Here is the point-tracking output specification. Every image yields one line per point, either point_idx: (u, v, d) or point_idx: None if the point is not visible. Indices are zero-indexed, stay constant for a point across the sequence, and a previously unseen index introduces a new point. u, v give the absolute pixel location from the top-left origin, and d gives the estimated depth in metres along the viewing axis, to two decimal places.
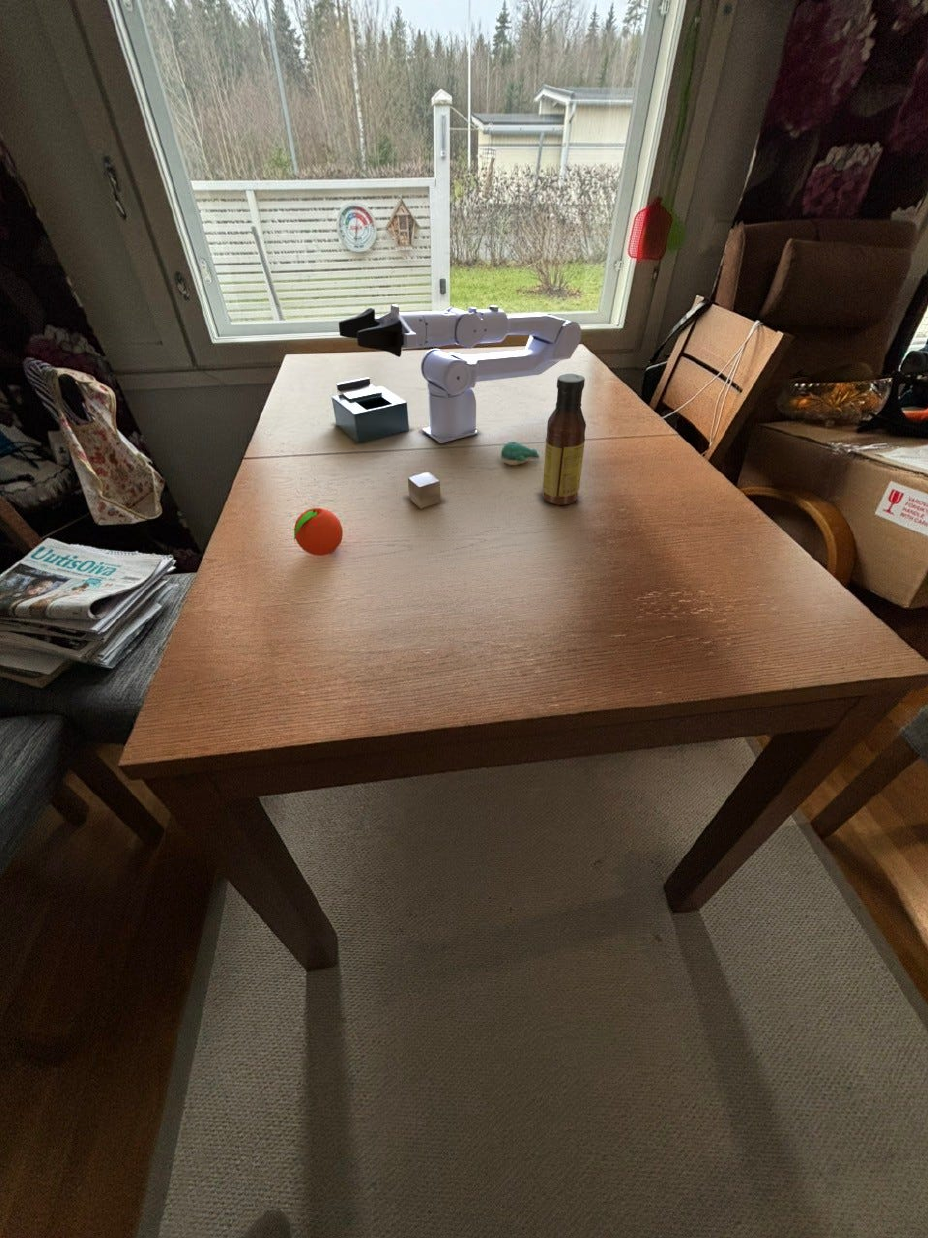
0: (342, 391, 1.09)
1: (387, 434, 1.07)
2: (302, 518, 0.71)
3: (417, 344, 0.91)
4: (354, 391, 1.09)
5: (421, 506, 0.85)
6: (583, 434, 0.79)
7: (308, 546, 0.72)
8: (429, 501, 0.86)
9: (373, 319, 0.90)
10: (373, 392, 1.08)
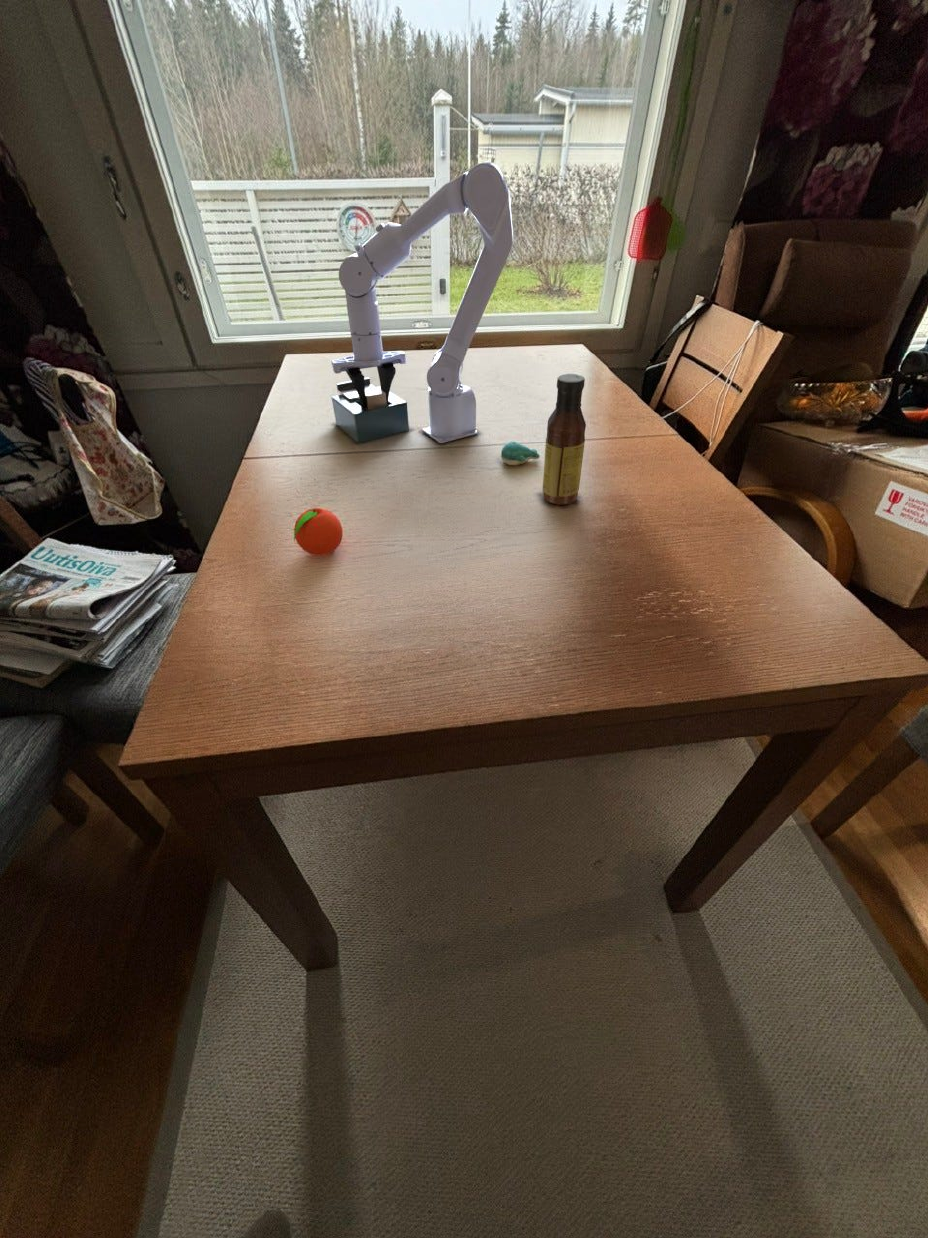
0: (342, 391, 1.09)
1: (387, 434, 1.07)
2: (302, 518, 0.71)
3: None
4: (354, 391, 1.09)
5: None
6: (583, 434, 0.79)
7: (308, 546, 0.72)
8: None
9: None
10: None
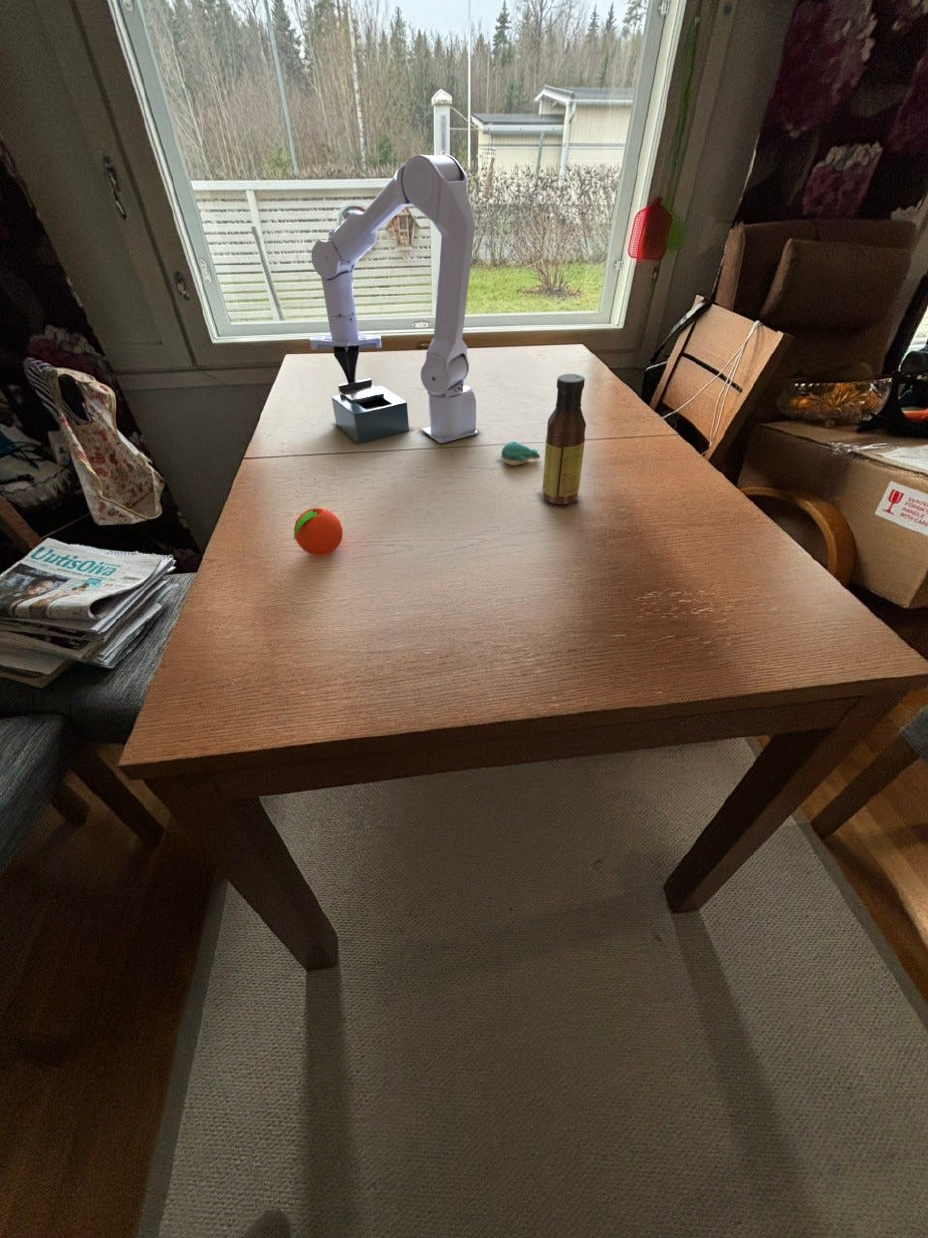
0: (344, 392, 1.08)
1: (387, 434, 1.07)
2: (302, 518, 0.71)
3: None
4: (356, 392, 1.08)
5: None
6: (583, 434, 0.79)
7: (308, 546, 0.72)
8: None
9: (345, 353, 1.06)
10: (375, 394, 1.07)
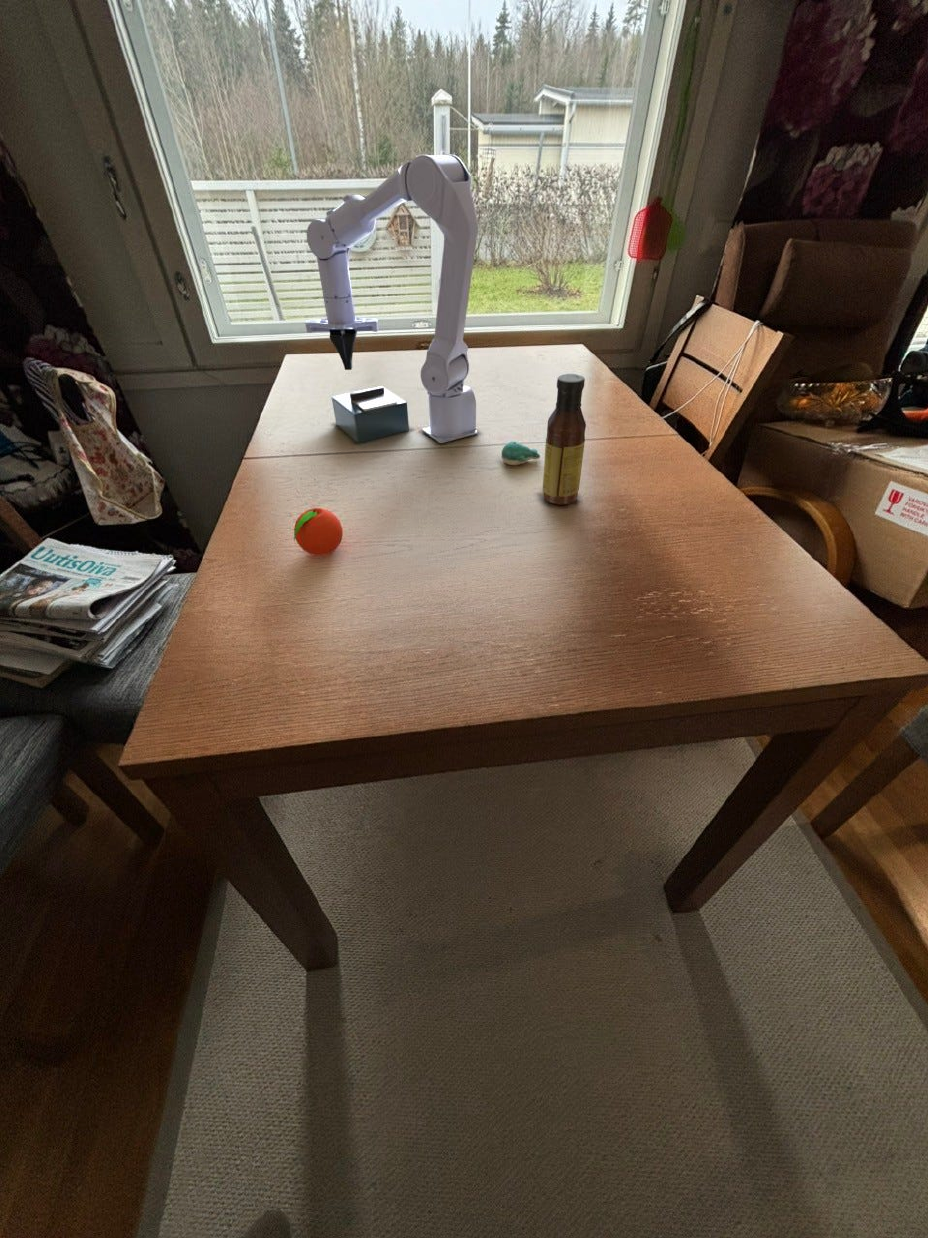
0: (355, 401, 1.04)
1: (387, 434, 1.07)
2: (302, 518, 0.71)
3: None
4: (368, 401, 1.04)
5: None
6: (583, 434, 0.79)
7: (308, 546, 0.72)
8: None
9: (342, 337, 1.04)
10: (388, 403, 1.03)
